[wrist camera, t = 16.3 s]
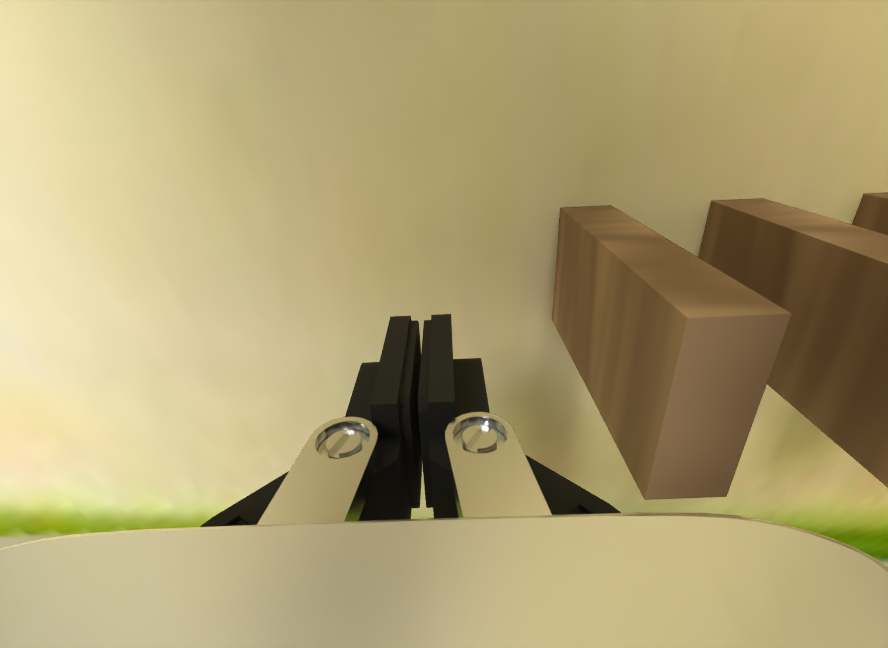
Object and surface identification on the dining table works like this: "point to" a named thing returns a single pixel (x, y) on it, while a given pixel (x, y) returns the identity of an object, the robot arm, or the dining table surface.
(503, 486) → the robot arm
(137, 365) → the dining table surface
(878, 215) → the domino
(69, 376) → the dining table surface
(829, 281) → the domino
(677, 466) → the domino
